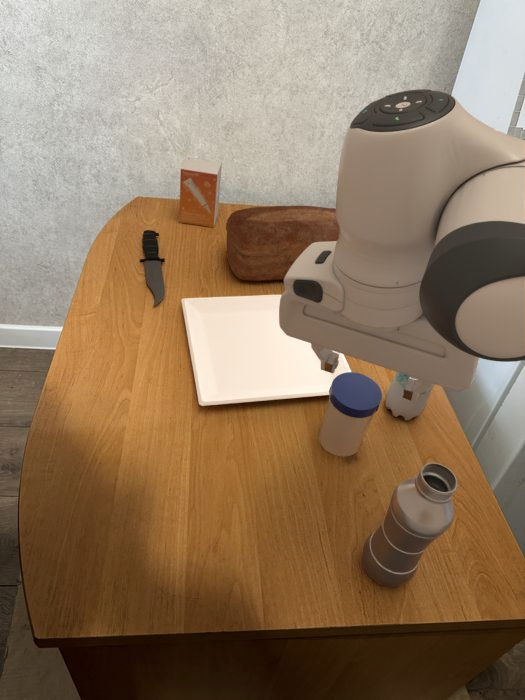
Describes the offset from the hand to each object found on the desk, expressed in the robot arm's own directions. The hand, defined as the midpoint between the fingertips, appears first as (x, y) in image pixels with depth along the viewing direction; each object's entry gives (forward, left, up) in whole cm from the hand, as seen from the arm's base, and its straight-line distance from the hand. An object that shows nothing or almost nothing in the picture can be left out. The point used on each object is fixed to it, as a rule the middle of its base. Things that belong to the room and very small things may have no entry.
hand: (369, 381), depth 58 cm
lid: (-2, -9, -12) cm, 15 cm away
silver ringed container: (-6, +10, -22) cm, 25 cm away
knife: (+32, -47, -22) cm, 62 cm away
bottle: (-13, -17, -22) cm, 31 cm away
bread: (+5, -54, -22) cm, 59 cm away
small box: (+26, -69, -22) cm, 77 cm away
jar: (-2, -9, -22) cm, 24 cm away
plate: (+10, -27, -22) cm, 37 cm away
